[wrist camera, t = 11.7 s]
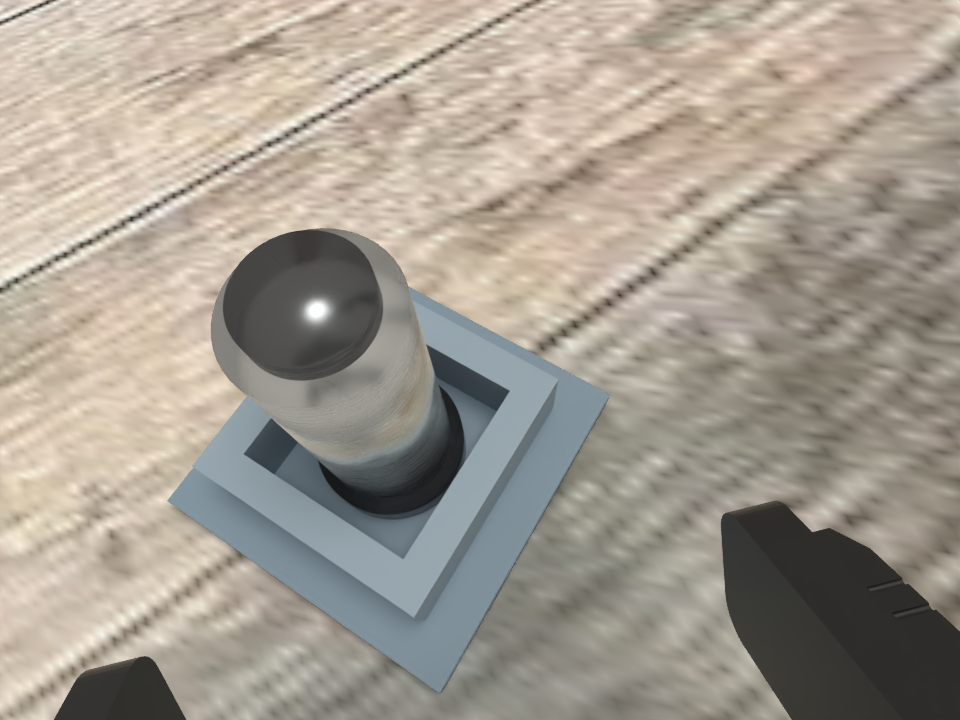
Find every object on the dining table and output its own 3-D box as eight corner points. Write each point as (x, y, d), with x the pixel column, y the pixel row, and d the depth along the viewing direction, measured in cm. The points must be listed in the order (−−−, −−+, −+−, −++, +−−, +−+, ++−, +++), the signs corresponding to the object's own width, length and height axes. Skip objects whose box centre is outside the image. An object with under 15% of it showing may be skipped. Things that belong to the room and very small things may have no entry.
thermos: (378, 362, 26) (277, 159, 15) (491, 424, 24) (471, 252, 14) (300, 474, 24) (122, 338, 13) (417, 547, 23) (326, 462, 12)
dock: (362, 271, 29) (341, 217, 25) (606, 403, 26) (622, 364, 22) (179, 505, 25) (122, 482, 21) (442, 691, 22) (429, 701, 18)
